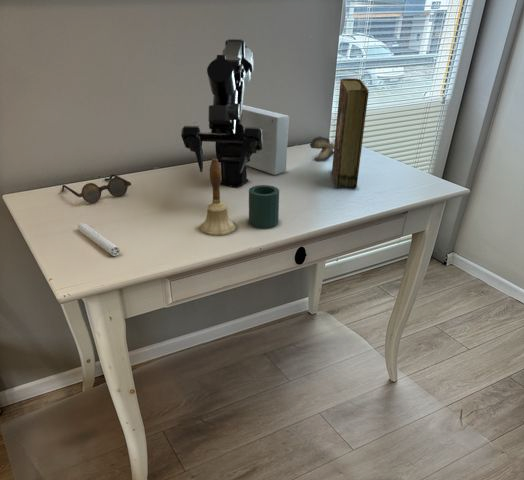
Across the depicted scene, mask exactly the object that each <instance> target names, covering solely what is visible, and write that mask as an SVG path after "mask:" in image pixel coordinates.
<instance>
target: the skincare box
mask: <svg viewBox="0 0 524 480" xmlns="http://www.w3.org/2000/svg"><path fill="white" fill-rule="evenodd" d="M289 122H290V115H287V114H283V113H280V112H274V111H270V110H267V109H262V108H258V107H253V106H249V105H244V104H243V108H242V121H241V124H242V126H243V129H244V132H245V127H254V128H260V129H261V130H262V139H263V144H262V150H260V151H257V152H256V153H253V154H252V155H251V156H250V162H247V163H246V164H245V166H246V167H249V168H253V169H256V170H259V171H262V172H265V173H268V174H270V175H274V176H276V175H279V174H283V173H286V172H287V160H288V159H287V158H288V140H289V124H290V123H289Z"/></svg>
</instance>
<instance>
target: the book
mask: <svg viewBox="0 0 524 480" xmlns="http://www.w3.org/2000/svg"><path fill="white" fill-rule="evenodd" d="M369 91H370V89H369V88H368V87H367V86H366V85H365V83H364V82H363V81H362V79H360V78H341V79H340V82H339V93H338V103H337V112H336V113H337V115H336V125H335V134H334V140H335V144H334V149H333V151H334V154H333V156H332V166H331V173H332V176H333V181H334V184H335V187H336V188H337V189H339V188H353V189H357V187H358V179H359V172H360V164H361V155H362V148H363V142H364V141H363V140H364V139H363V138H364V132H365V125H366V117H367V108H368V102H369V101H368V100H369V93H370V92H369Z"/></svg>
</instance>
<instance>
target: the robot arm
mask: <svg viewBox="0 0 524 480" xmlns="http://www.w3.org/2000/svg"><path fill="white" fill-rule="evenodd" d="M224 45H225V46H224V48H223V49H222V54H216V57H215V58H214V59H213V60H212V61H211V62H210V63H209V64H208V66H207V68H206V74H207V78H208V82H209V88H210V90H211V94H212V95H213V97H212V105H210V104H209V105H208V129H209V130H210V131H209V132H207V131H206V132H205V131H201V128H200V126H199V125H183V127H182V128H181V132H180V136H181V139H182V142H183V144H184V148H186V149H187V150H189V151H190V152H193V153H194V154H195V156H196V160H197V164H198V168H199V172H200V173H203V170H204V151H203V147H202V146H203V142H206V143H207V142H210V143H211V142H212V143H214V144H215V146H214V147H215V158H217V159H218V163H220V169H221V182H220V185H223V186H228V187H233V188H239V187H241V186H242V185H244V184H246V183H248V182H249V179H248V177H247V174H248V172H247V169H248V168H247V166H246V165H245V164H246V163H247V162H250V156H251V155H252V154H253V153H256V152H257V151H260V150H262V144H263V139H262V130H261V129H260V128H254V127H245V132H244V129H243V126H242V124H241V121H242V108H243V105H244V94H245V87H246V86H247V85H248V84H249V83H250V82H251V78H252V77H251V76H252V73H254V54H253V50H251V49H250V48H249V47H248V46H247V45H246V41H245V40H244V39H241V38H240V39H239V38H228V39H226V40H225V44H224Z"/></svg>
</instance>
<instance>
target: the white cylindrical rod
mask: <svg viewBox="0 0 524 480" xmlns="http://www.w3.org/2000/svg"><path fill="white" fill-rule="evenodd" d="M77 229H78V231H79V232H80V233H82V234H83V235H84V236H86V237H87V238H88V239H89V240H91V241H92V242H94V243H95V244H97V246H99V247H100V248H102V249H103V250H104V251H106V252H107V253H108V254H109V255H111V256H113V257H117V256H118V255H119V254H120V248H119V247H118V246H117V245H116V244H114V243H112V242H111V241H110V240H108V239H107V238H106V237H104V236H102V234H100V233H99V232H98V231H96V230H95V229H93V228H92V227H90V226H89V225H88V224H87V223H84V222H79V223H78V224H77Z"/></svg>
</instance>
